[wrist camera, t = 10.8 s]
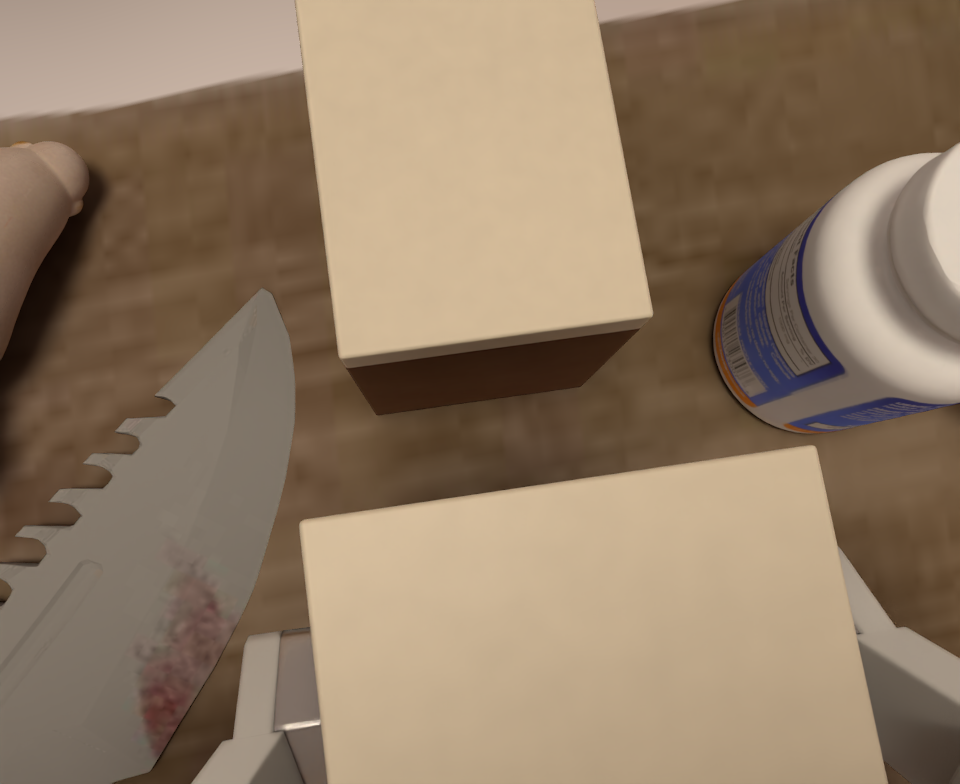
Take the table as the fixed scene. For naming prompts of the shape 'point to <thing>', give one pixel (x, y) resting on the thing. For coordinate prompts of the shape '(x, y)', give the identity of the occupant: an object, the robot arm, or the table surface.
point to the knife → (148, 567)
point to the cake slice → (594, 633)
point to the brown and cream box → (470, 196)
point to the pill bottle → (853, 305)
